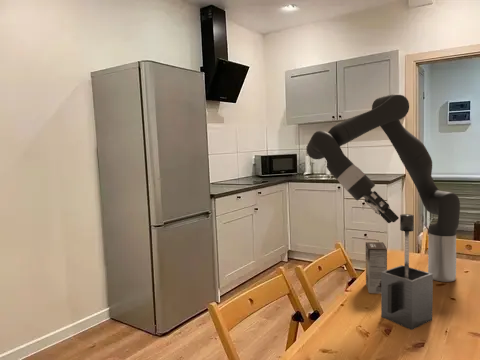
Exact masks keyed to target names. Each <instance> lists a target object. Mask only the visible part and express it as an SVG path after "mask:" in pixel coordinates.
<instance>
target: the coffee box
mask: <svg viewBox="0 0 480 360" xmlns="http://www.w3.org/2000/svg"><path fill="white" fill-rule="evenodd" d="M386 270H388V248H387V247H386V244H385V243H384V241H383V242H378V241H377V242H375V241H374V242H370V241H367V242H365V284H366V288H367V291H368V293H369V294H381V272H383V271H386Z"/></svg>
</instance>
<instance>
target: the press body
mask: <svg viewBox="0 0 480 360" xmlns="http://www.w3.org/2000/svg"><path fill="white" fill-rule="evenodd" d="M402 277H404V265H401V264H400V265H399V266H398V265H397V266H395V267H392V268H389V269H387V270H386V271H383V272H381V295H380V296H381V300H380V301H381V303H380V304H381V306H380V308H381V310H380V311H381V312H380V313H381V314H380V315H381V318H382V319H385V320H388V321H389V322H392V323H395V324H397V325H398V326H401V327H404V328H406V329H409V330H411V331H413V330H415V329H417V328H420V327H421V326H423V325H425V324H428V323H430V322H432V321H433V300H434V299H433V292H434V291H433V290H434V288H433V287H434V286H433V285H434V282H433V281H434V280H433V274H432V273H428V271H424V270H420V269H417V268H413V267H410V266H409V279H412V280H408V279H405V278H402Z"/></svg>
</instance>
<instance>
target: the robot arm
mask: <svg viewBox="0 0 480 360" xmlns="http://www.w3.org/2000/svg"><path fill="white" fill-rule="evenodd" d="M409 110H410V102H409V100H408V98H407V97H406V96H405V95H403V94H401V93H393V94H388V95H384V96H381V97H378V98H376V99H375V100H374V101H373V103H372V105H371V110H369V111H365V112H362V113H360V114H359V115H355V116H352V117H350V118H347V119H346V120H342V121H341V122H340V123H337V124H335V125H333V126H332V127H331V128H330V129H329V130H328V131H325V130H317V131H316V132H314V133H313V134H312V136H311V138H310V140H309V142H308V143H307V145H306V154H307V155H308V157H310V158H311V159H313V160H322V159H325V160H326V169H327V170H328V171H329V173H331V174H332V176H333V177H335V179H336V180H337V182H339V184H340V185H341V186H342V187H343V188H344V189H345V191H347V192H348V194H350V195H351V197H352V198H353V199H354V200H355V201H359V200H361V199H362V198H364V202H365V204H366V205H367V206H369V207H370V209H371V210H373V212H375V214H377V215H379V216H380V217H382V218H383V220H384V221H385V222H386V223H387V224H391V223H395V222H396V221H398V220H400V218H399V216H398V215H397V214H396V213H395V212H394V210H392V209H391V208H390V204H389V203H388V202H386V200H384V198H382V197H381V195H380V194H378V192H377V191H376V190H373V191H372V189H373V188H375V186H376V183H374V181H373V180H371V178H369V177H368V175H366V173H364V171H362V169H360V168H359V167H358V166H357V165H355V164H354V163H353V161H351V159H349V158H348V157H347V156H346V155H345V154H344V151H343V150H342V148H341V147H342V146H344V145H347V144H348V143H350V142H352V141H354V140H355V139H357V138H359V137H361V136H363V135H365V134H367V133H369V132H371V131H373V130H374V129H377V128H379V127H380V128H381V129H382V131H383V133H385V135H386V136H387V138H388V139H389V141H390V143H391V144H392V145H391V146H393V148H394V150H395V152H396V153H397V154H398V157H399V159H400V161H401V163H402V164H403V166H404V168H405V170H406V171H407V173H408V175H409V177H410V178H411V180H412V182H413V184H414V186H415V187H416V189H417V192H418V196H419V198H420V199H421V202H422V204H423V206H424V208H425V210H426V211H427V212H428V213H429V214H432V215H436V216H437V222H436V223H432V224H430V225H428V236H427V237H428V240H427V242H428V244H427V245H428V250H427V252H428V253H427V255H428V256H427V258H428V259H427V261H428V262H427V272H428V273H432V274H433V281H438V282H443V283H445V282H446V283H450V282H454V281H456V278H457V230H458V228H459V224H460V213H461V202H460V198H459V196H458V195H457V194H456V193H455V192H451V191H444V190H440V189H439V188H438V187H437V185H436V183H435V182H434V180H433V177H432V174H433V173H432V172H433V160H432V157H431V155H430V153H429V151H428V149H427V148H426V145H425V144H424V143H423V142H422V141H421V140H420V139H419V138H417V136H415V135H414V134H412V133H411V132H410V131H409V130H407V129H406V128H405V127H404V125H403V124H402V122H401V121H400V120H402V119H403V118H405V117H406V116H407V115H408V113H409Z"/></svg>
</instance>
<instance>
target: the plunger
mask: <svg viewBox="0 0 480 360" xmlns="http://www.w3.org/2000/svg"><path fill="white" fill-rule="evenodd" d="M399 222H400V223H399V230H400V231H401V232H404V265H403V266H404V277H402V278H405V279H408V280H412V279H409V267H410V232H414V230H415V229H414V225H415V223H414V222H415V217H414V214H409V213H403V214H400V218H399Z"/></svg>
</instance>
